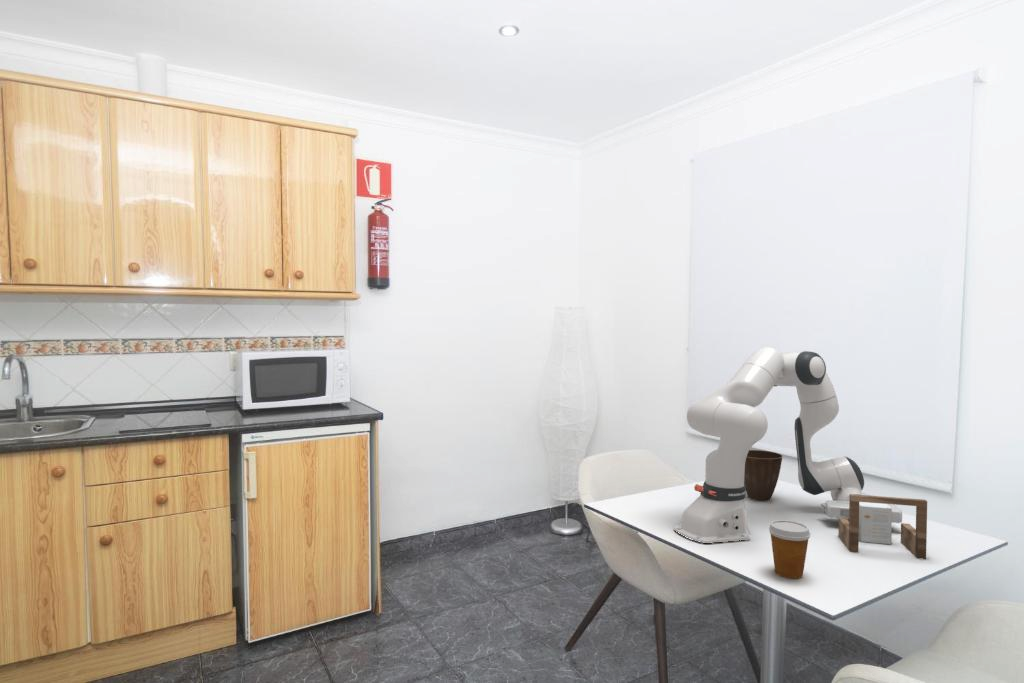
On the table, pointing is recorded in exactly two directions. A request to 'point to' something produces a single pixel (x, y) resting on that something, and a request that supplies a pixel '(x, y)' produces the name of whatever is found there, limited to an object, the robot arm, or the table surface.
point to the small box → (875, 523)
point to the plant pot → (761, 474)
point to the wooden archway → (909, 535)
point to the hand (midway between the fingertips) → (870, 519)
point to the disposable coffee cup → (789, 547)
